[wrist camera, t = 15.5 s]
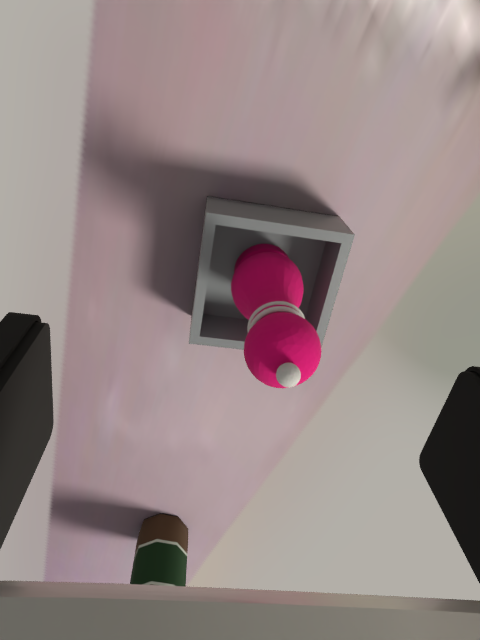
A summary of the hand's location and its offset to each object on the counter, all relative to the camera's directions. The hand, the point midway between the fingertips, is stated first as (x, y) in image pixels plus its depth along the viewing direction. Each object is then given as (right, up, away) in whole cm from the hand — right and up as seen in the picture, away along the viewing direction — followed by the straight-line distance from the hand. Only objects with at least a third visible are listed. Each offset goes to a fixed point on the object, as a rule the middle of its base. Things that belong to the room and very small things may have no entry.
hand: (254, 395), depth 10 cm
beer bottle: (-12, -31, +60) cm, 69 cm away
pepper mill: (+2, +7, +39) cm, 40 cm away
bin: (+2, +7, +40) cm, 41 cm away
